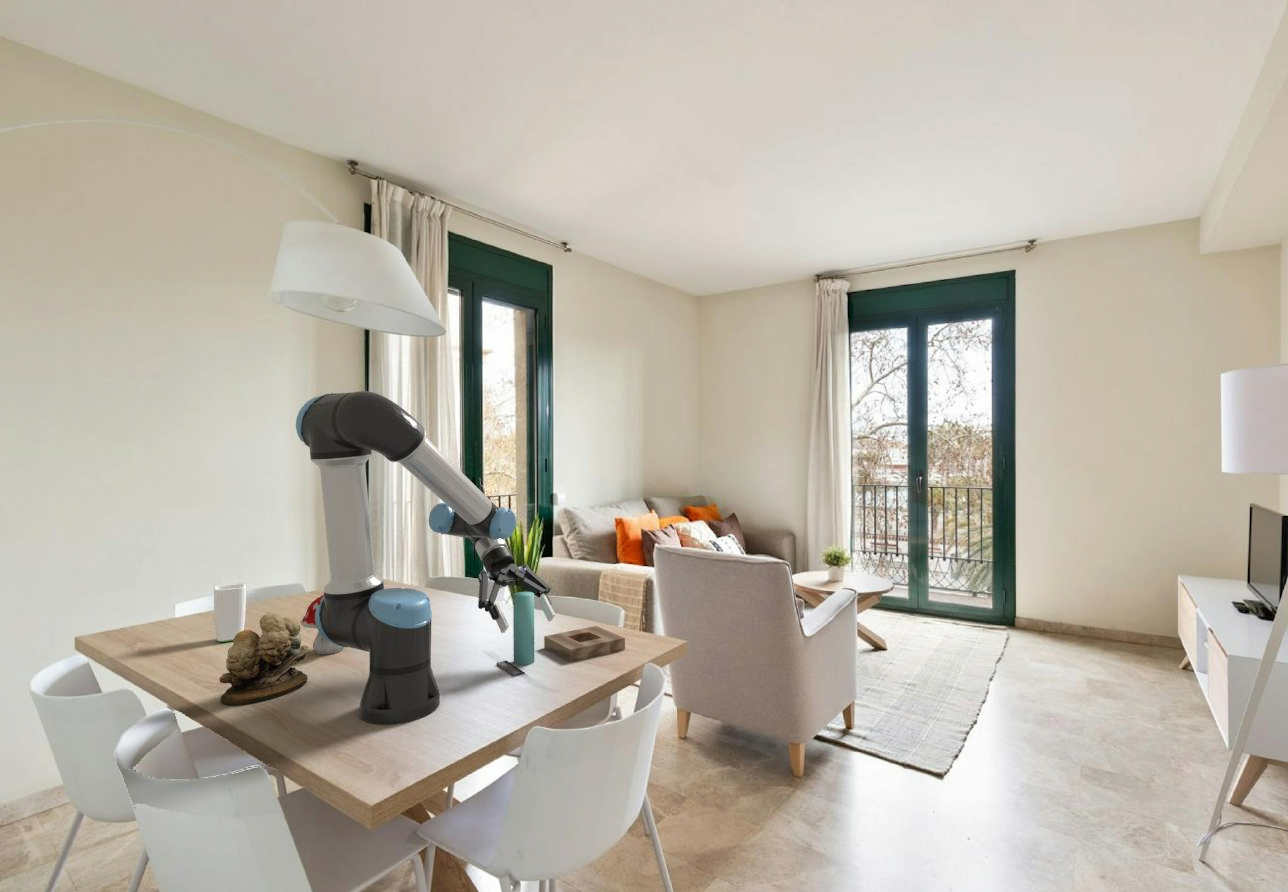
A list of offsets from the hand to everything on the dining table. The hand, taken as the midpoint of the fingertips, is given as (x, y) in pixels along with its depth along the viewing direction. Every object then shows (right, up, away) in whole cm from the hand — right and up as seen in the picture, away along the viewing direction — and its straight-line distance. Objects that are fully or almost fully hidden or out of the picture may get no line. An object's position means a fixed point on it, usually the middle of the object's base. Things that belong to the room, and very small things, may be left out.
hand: (529, 623), depth 148 cm
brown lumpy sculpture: (-55, -11, -13) cm, 58 cm away
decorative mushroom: (-55, -11, +14) cm, 58 cm away
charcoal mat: (-2, -11, +1) cm, 11 cm away
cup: (-89, -12, +24) cm, 93 cm away
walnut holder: (+12, -11, +11) cm, 20 cm away
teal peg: (-2, -10, +1) cm, 10 cm away
